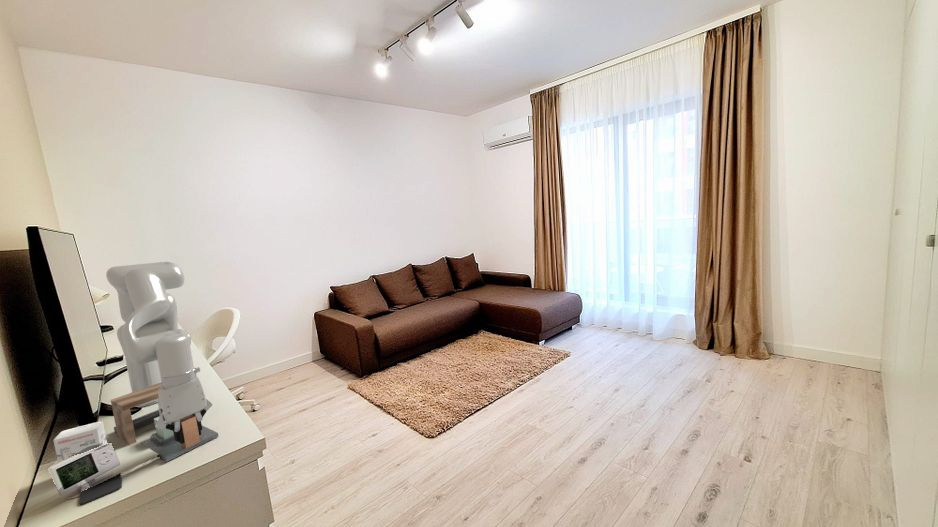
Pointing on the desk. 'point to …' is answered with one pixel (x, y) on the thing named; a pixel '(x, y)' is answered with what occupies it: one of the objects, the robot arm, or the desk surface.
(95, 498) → the phone
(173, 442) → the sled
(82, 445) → the ink box
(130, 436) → the tunnel
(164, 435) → the sage block
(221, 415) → the desk surface
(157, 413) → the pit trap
